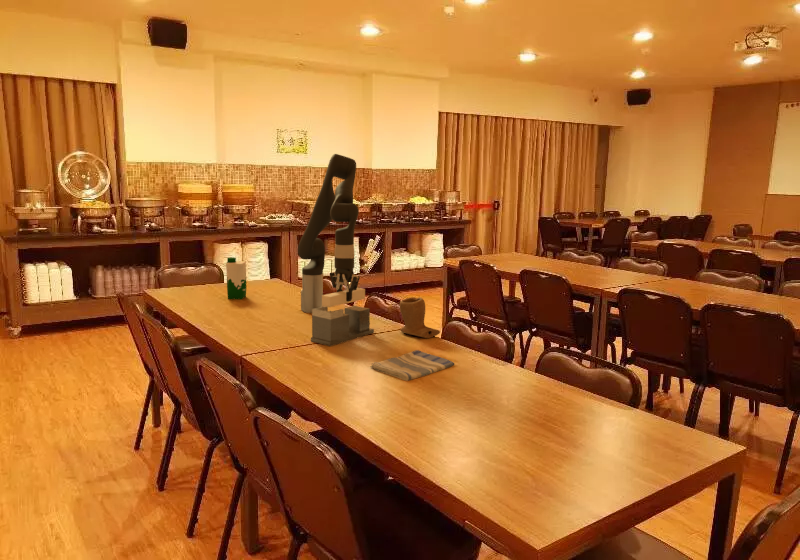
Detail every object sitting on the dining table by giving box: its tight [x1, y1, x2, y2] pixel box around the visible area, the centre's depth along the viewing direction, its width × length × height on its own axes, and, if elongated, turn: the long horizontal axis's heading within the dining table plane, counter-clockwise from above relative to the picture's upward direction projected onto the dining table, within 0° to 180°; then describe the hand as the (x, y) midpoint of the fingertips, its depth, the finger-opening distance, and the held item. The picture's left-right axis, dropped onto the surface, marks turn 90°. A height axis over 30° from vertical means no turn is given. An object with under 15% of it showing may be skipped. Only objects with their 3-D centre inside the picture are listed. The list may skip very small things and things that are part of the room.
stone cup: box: [398, 296, 441, 339], centre depth 240 cm, size 15×12×15 cm
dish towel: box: [370, 349, 455, 382], centre depth 202 cm, size 17×24×3 cm
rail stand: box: [310, 305, 375, 347], centre depth 235 cm, size 10×25×12 cm, turn 143°
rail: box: [322, 287, 366, 308], centre depth 234 cm, size 4×20×4 cm, turn 143°
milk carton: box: [225, 256, 247, 300], centre depth 301 cm, size 9×9×20 cm
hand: (344, 300), depth 234 cm, fingers closed on rail, 4 cm apart
